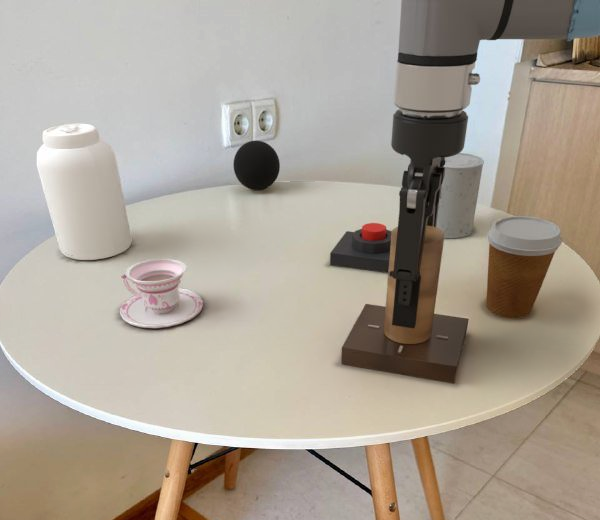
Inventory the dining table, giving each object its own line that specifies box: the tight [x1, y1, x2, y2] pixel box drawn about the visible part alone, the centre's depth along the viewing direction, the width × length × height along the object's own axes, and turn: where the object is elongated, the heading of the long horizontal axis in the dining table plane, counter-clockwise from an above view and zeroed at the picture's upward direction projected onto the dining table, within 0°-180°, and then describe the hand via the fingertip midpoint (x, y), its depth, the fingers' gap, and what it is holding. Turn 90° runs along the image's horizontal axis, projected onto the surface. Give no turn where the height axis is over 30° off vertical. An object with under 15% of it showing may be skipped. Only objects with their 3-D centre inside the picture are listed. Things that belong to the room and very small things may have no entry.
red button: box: [361, 222, 387, 241], centre depth 97 cm, size 4×4×2 cm
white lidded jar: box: [36, 123, 133, 261], centre depth 100 cm, size 12×12×20 cm
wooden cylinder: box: [384, 226, 445, 344], centre depth 71 cm, size 6×6×13 cm
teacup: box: [119, 258, 204, 329], centre depth 85 cm, size 12×12×6 cm
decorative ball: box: [232, 140, 281, 191], centre depth 128 cm, size 10×10×10 cm
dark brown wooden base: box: [340, 303, 470, 384], centre depth 76 cm, size 14×12×3 cm
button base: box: [329, 228, 392, 274], centre depth 99 cm, size 12×10×4 cm
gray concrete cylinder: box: [436, 152, 485, 239], centre depth 106 cm, size 10×10×12 cm
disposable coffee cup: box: [485, 215, 563, 320], centre depth 81 cm, size 10×10×12 cm
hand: (409, 312), depth 74 cm, fingers closed on wooden cylinder, 6 cm apart
